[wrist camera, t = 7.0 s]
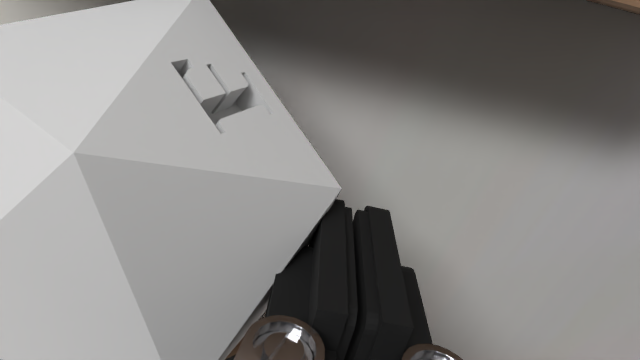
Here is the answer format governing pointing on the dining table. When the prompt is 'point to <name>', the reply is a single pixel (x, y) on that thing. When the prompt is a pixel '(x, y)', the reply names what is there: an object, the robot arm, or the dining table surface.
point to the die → (143, 185)
